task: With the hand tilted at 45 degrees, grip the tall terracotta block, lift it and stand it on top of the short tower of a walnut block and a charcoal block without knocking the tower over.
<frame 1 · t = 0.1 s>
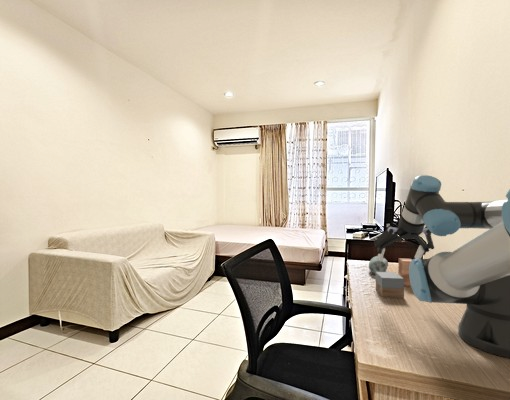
hand: (398, 259, 101), 15 cm above the table, fingers open, 13 cm apart
spool: (378, 273, 133), on the table
bottom slab: (389, 294, 105), on the table, touching top slab
tall block: (406, 284, 117), on the table
top slab: (388, 284, 105), point 4 cm above the table, touching bottom slab
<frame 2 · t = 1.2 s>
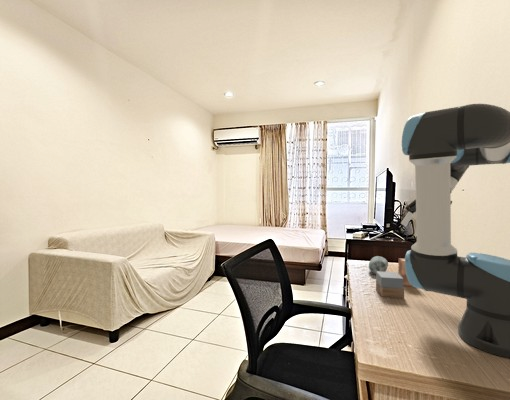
hand: (414, 229, 112), 25 cm above the table, fingers open, 13 cm apart
nothing on the table moved.
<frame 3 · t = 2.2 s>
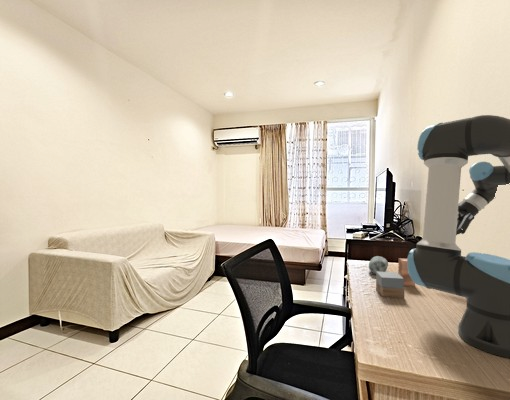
hand: (433, 240, 115), 20 cm above the table, fingers open, 13 cm apart
bottom slab: (389, 294, 105), on the table
top slab: (389, 284, 105), point 4 cm above the table
everything else where it was.
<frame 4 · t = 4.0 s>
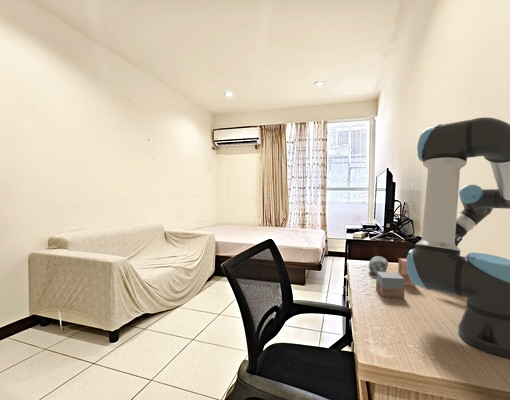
hand: (422, 259, 116), 11 cm above the table, fingers open, 13 cm apart
nothing on the table moved.
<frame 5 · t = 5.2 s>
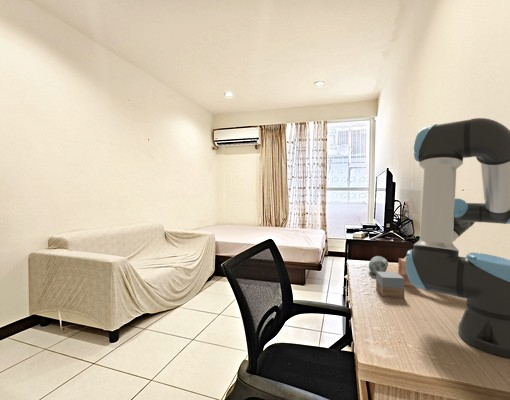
hand: (406, 270, 117), 6 cm above the table, fingers open, 13 cm apart
nothing on the table moved.
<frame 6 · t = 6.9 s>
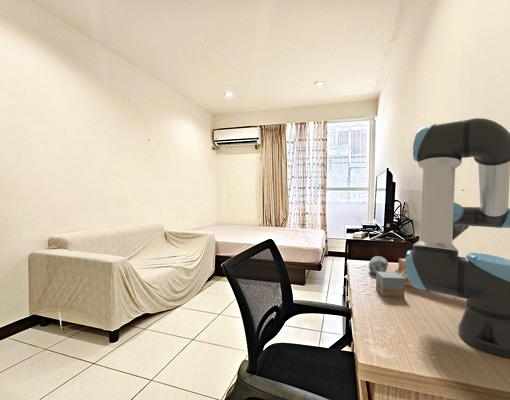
hand: (397, 276, 117), 3 cm above the table, fingers closed on tall block, 5 cm apart
bottom slab: (389, 294, 105), on the table, touching top slab
tall block: (406, 284, 117), on the table, touching gripper
top slab: (389, 284, 105), point 4 cm above the table, touching bottom slab
everything else where it was.
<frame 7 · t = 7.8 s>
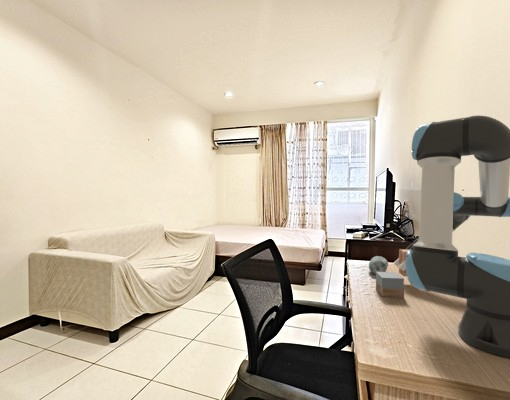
hand: (398, 267, 117), 7 cm above the table, fingers closed on tall block, 5 cm apart
tall block: (407, 274, 117), point 4 cm above the table, touching gripper
everything else where it was.
when the fingers open (12 cm above the table, at t = 13.9 s): tall block drops 1 cm, resting on top slab.
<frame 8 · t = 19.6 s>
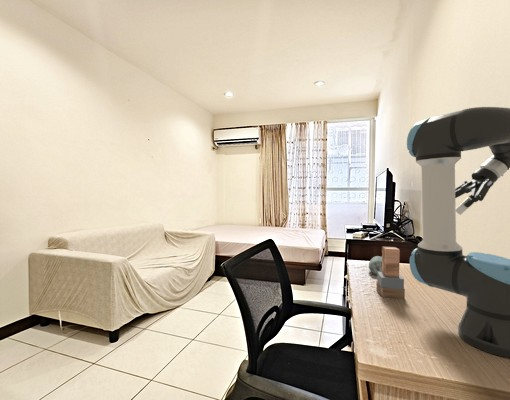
hand: (446, 211, 104), 34 cm above the table, fingers open, 13 cm apart
tall block: (390, 274, 105), point 8 cm above the table, touching top slab
top slab: (390, 285, 105), point 4 cm above the table, touching bottom slab, tall block
everything else where it was.
at the end: tall block 0.2 cm off-centre on the top slab, point 4.1 cm above the top slab's base; top slab 0.0 cm off-centre on the bottom slab, point 4.0 cm above the bottom slab's base; tall block tilted 1° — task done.
